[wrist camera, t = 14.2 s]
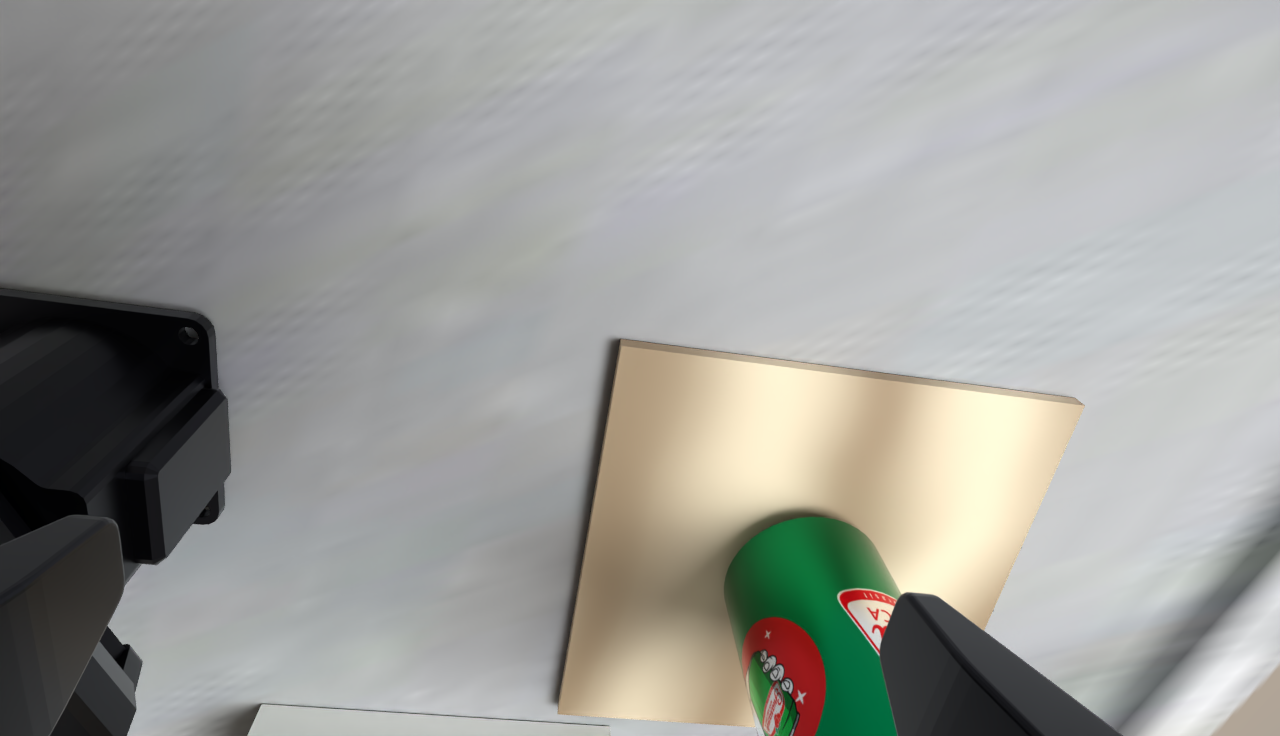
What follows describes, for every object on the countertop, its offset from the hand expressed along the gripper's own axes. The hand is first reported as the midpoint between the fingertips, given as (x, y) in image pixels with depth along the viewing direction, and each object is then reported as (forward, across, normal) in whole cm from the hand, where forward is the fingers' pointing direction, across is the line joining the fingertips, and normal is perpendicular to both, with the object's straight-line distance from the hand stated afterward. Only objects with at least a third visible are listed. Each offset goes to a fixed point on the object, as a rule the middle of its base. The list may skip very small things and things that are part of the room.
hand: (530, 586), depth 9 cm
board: (+13, -9, +9) cm, 18 cm away
